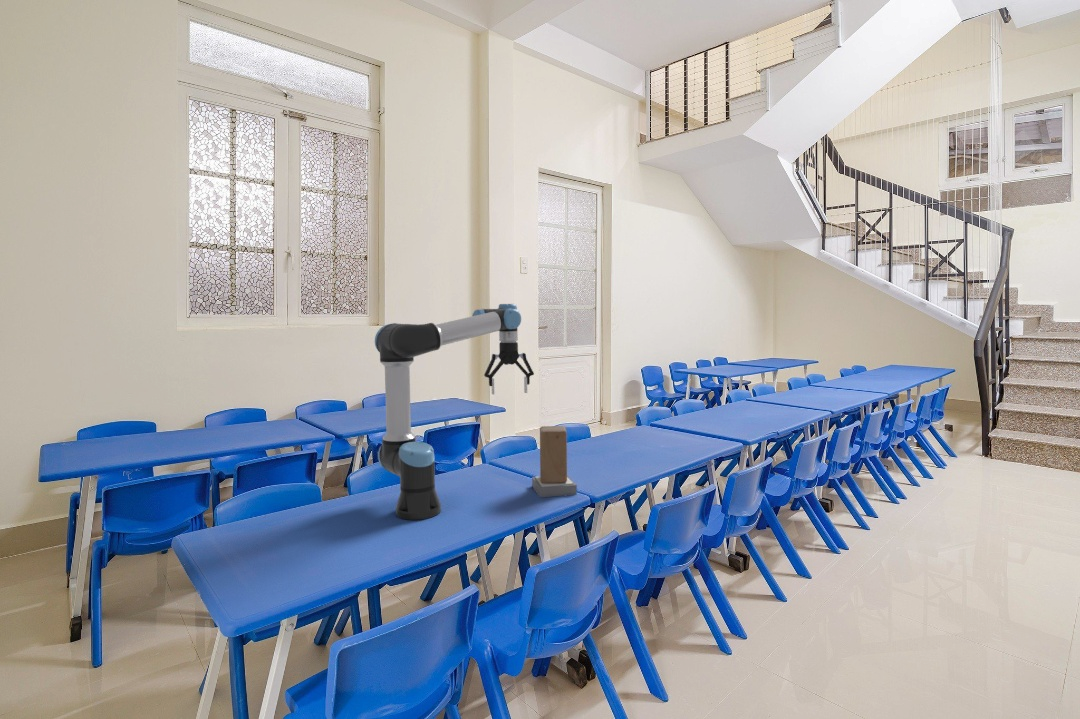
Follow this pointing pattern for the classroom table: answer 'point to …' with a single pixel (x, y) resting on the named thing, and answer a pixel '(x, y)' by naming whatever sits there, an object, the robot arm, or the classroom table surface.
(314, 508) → the classroom table surface
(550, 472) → the wooden block
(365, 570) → the classroom table surface
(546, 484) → the base
